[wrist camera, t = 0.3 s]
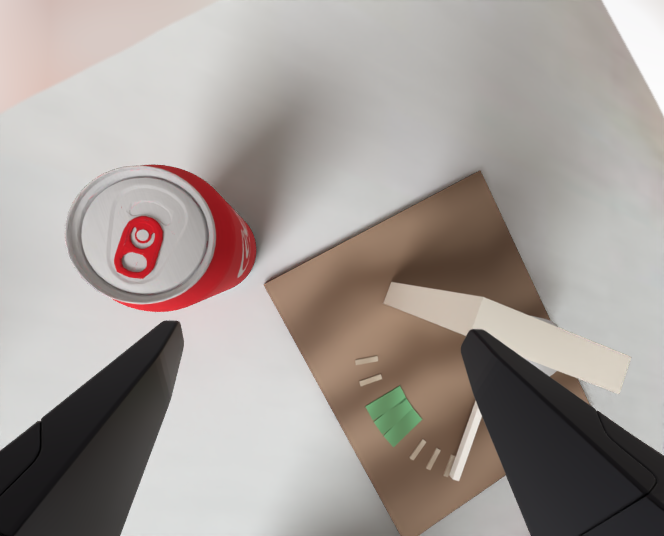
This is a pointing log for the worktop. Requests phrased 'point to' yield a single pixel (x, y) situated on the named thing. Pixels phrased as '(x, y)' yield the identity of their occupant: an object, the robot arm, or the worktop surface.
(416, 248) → the dial board
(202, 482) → the worktop surface
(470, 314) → the white panel with rod
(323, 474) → the worktop surface
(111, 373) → the robot arm
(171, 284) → the beverage can
